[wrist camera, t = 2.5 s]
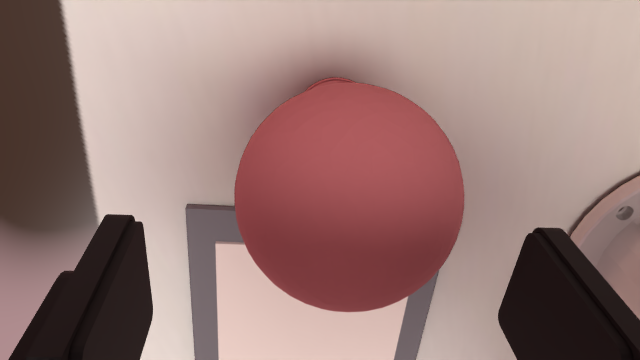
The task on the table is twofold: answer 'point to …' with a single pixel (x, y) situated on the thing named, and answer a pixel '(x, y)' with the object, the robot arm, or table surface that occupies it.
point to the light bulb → (349, 196)
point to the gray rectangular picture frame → (281, 307)
